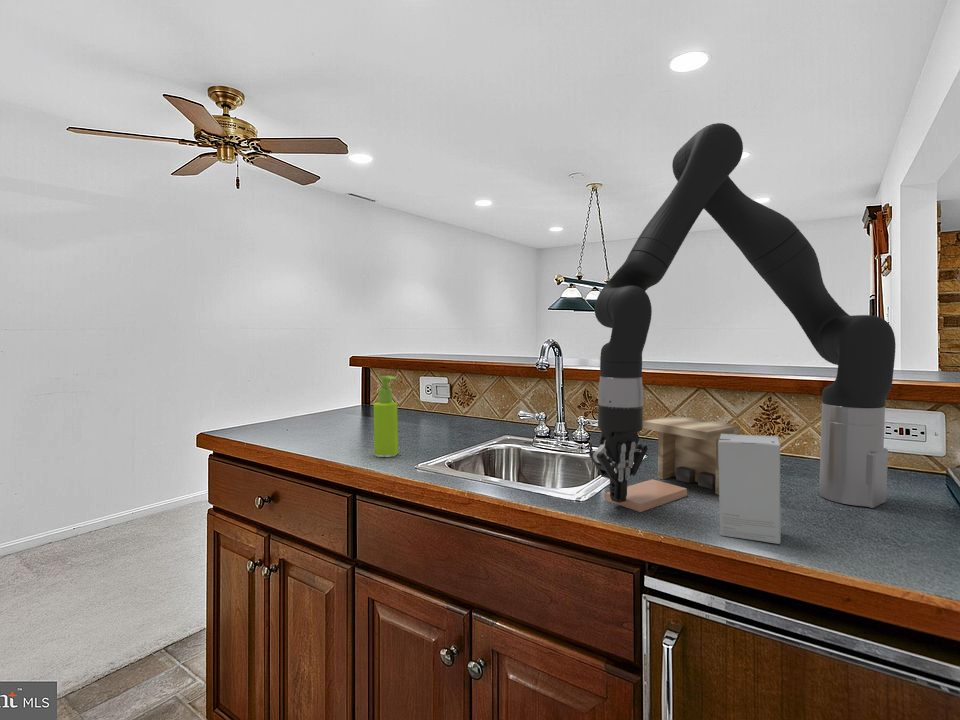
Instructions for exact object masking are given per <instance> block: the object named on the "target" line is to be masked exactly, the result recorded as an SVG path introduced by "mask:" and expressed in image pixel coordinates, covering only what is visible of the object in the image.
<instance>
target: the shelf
mask: <svg viewBox="0 0 960 720" xmlns="http://www.w3.org/2000/svg"><path fill="white" fill-rule="evenodd" d="M642 430H649V431H654V432H657V435H658V436H657V479H660V480H664V479H669V478H673V477H675V480H676V481H680V482H684V483H687V484H690V483H698V485H697V486H698V487H701V488H707V489H709V490H715V492H714V493H715V495H718V496H719V461H718V441H719V439H720V435H721V434H736V435H741V425H738V424H733V423H726V422H719V421H712V420H706V419H699V418H692V417H685V416H679V415H673V416H666V417H662V418H655V419H654V418H653V419H648V420H643V424H642Z"/></svg>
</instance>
